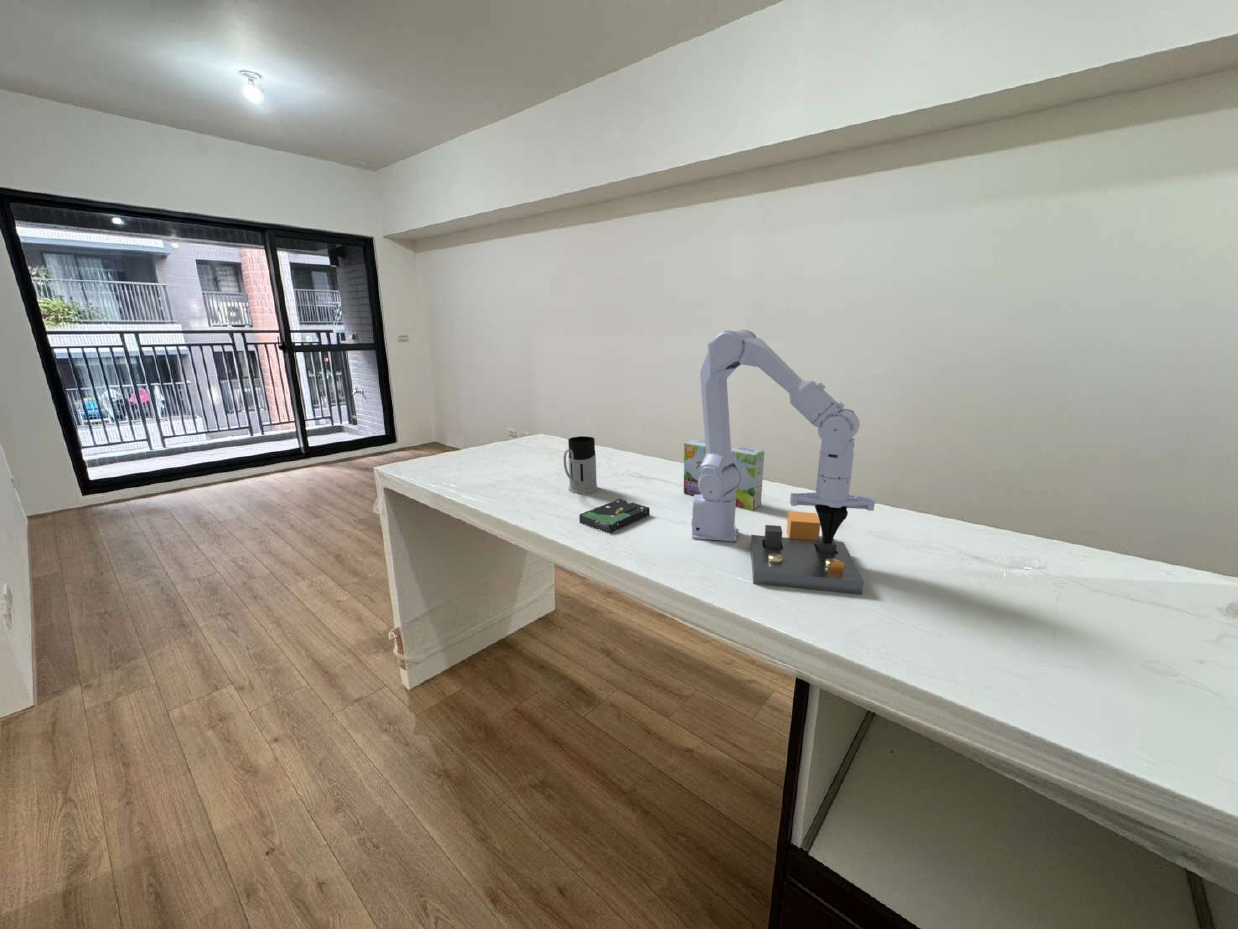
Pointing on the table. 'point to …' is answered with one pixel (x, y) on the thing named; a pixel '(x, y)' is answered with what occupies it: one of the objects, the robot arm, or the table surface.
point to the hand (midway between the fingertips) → (826, 541)
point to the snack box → (747, 463)
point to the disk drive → (614, 515)
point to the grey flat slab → (804, 566)
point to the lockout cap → (803, 525)
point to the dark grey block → (825, 546)
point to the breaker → (773, 537)
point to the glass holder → (581, 464)
